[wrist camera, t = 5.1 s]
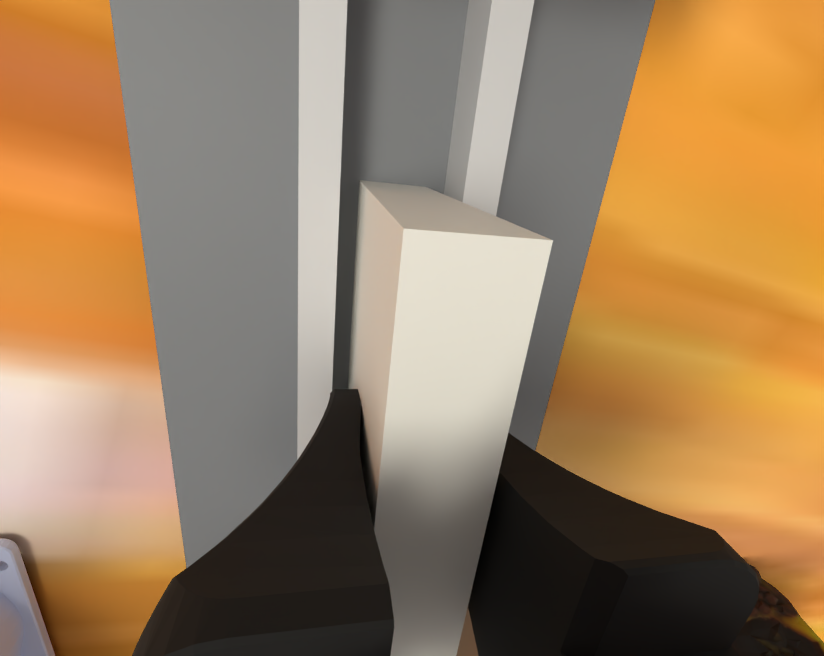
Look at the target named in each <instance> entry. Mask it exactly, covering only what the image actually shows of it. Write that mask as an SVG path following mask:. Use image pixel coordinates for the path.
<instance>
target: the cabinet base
mask: <svg viewBox="0 0 824 656" xmlns="http://www.w3.org/2000/svg"><path fill="white" fill-rule="evenodd" d="M654 3H655V0H110V7H111V15H112V22H113V30H114V37H115V44H116V52H117V59H118V66H119V74H120V81H121V88H122V96H123V103H124V110H125V118H126V125H127V133H128V140H129V147H130V155H131V162H132V169H133V177H134V184H135V191H136V199H137V206H138V213H139V221H140V228H141V236H142V243H143V250H144V258H145V265H146V272H147V280H148V287H149V294H150V302H151V309H152V317H153V324H154V331H155V339H156V346H157V353H158V361H159V368H160V375H161V383H162V390H163V397H164V405H165V412H166V420H167V427H168V434H169V442H170V449H171V456H172V464H173V471H174V478H175V486H176V493H177V500H178V508H179V515H180V523H181V530H182V537H183V545H184V552H185V559H186V567H187V568H188V567H189V566H190V565H192V564H193V563H194V562H195V561H197V560H198V559H199V558H201V557H202V556H203V555H204V554H206V553H207V552H208V551H210V550H211V549H212V548H213V547H215V546H216V545H217V544H218V543H220V542H221V541H222V540H223V539H224V538H225V537H226V536H228V535H229V534H230V533H231V532H232V531H233V530H234V529H235V528H236V527H237V526H238V525H239V524H241V523H242V522H243V521H244V520H245V519H246V518H247V517H248V516H249V515H250V514H251V513H252V512H253V511H254V510H255V509H256V508H257V507H258V506H259V505H260V504H261V503H262V502H263V501H264V500H265V499H266V498H267V497H268V496H269V494H270V493H271V492H272V491H273V490H274V489H275V488H276V487H277V485H278V484H279V483H280V482H281V481H282V480H283V478H284V477H285V476H286V474H287V473H288V472H289V471H290V469H291V468H292V467H293V465H294V464H295V463H296V461H297V460H298V458H299V457H300V455H301V454H302V452H303V451H304V449H305V448H306V446H307V444H308V443H309V441H310V440H311V438H312V436H313V435H314V433H315V431H316V429H317V427H318V425H319V423H320V421H321V419H322V417H323V415H324V413H325V410H326V408H327V405H328V402H329V398H330V393H331V392H332V391H333V390H334V389H348V377H349V360H350V342H351V324H352V306H353V289H354V271H355V253H356V236H357V218H358V200H359V183H360V180H363V181H373V182H383V183H393V184H403V185H412V186H422V187H427V188H430V189H432V190H435V191H437V192H439V193H442V194H444V195H446V196H449V197H451V198H454V199H456V200H458V201H461V202H463V203H465V204H468V205H470V206H473V207H475V208H477V209H480V210H482V211H485V212H487V213H489V214H492V215H494V216H496V217H499V218H501V219H504V220H506V221H508V222H511V223H513V224H515V225H518V226H520V227H523V228H525V229H527V230H530V231H532V232H534V233H537V234H539V235H542V236H544V237H546V238H549V239H551V240H553V243H552V247H551V251H550V256H549V260H548V264H547V269H546V273H545V277H544V281H543V286H542V290H541V294H540V299H539V303H538V307H537V311H536V316H535V320H534V324H533V329H532V333H531V337H530V342H529V346H528V350H527V354H526V359H525V363H524V367H523V372H522V376H521V380H520V384H519V389H518V393H517V397H516V402H515V406H514V410H513V415H512V419H511V423H510V427H509V433H510V434H511V435H513V436H514V437H515V438H517V439H518V440H520V441H521V442H523V443H524V444H525V445H527V446H528V447H530V448H531V449H533V450H534V451H535V449H536V446H537V442H538V438H539V434H540V431H541V427H542V423H543V419H544V416H545V412H546V408H547V404H548V401H549V397H550V393H551V389H552V386H553V382H554V378H555V374H556V371H557V367H558V363H559V359H560V356H561V352H562V348H563V344H564V341H565V337H566V333H567V330H568V326H569V322H570V318H571V315H572V311H573V307H574V303H575V300H576V296H577V292H578V288H579V285H580V281H581V277H582V273H583V270H584V266H585V262H586V258H587V255H588V251H589V247H590V243H591V240H592V236H593V232H594V228H595V225H596V221H597V217H598V213H599V210H600V206H601V202H602V198H603V195H604V191H605V187H606V183H607V180H608V176H609V172H610V168H611V165H612V161H613V157H614V153H615V150H616V146H617V142H618V138H619V135H620V131H621V127H622V123H623V120H624V116H625V112H626V108H627V105H628V101H629V97H630V93H631V90H632V86H633V82H634V78H635V75H636V71H637V67H638V63H639V60H640V56H641V52H642V48H643V45H644V41H645V37H646V33H647V30H648V26H649V22H650V18H651V15H652V11H653V7H654ZM456 656H478V651H477V646H476V642H475V637H474V632H473V628H472V623H471V619H470V614H469V609H468V608H467V612H466V616H465V621H464V625H463V629H462V633H461V638H460V642H459V646H458V651H457V655H456Z"/></svg>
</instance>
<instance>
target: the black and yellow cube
mask: <svg viewBox="0 0 824 656" xmlns="http://www.w3.org/2000/svg"><path fill="white" fill-rule="evenodd" d="M748 565H749V564H748ZM749 566H750V567H751V568H752V569H753V570H754V571H755V572H756V574H757V577H758V580H759V594H758V600H757V602H756V604H755V606H754V609H753V611H752V613H751V614H750V616H749V618H748V619H747V621H746V622H745V624H744V626H743V627H742V629H741V630H740V632H739V634H738V635H737V637H736V639H735V640H734V642H733V643H732V645H731V646H732V648H733V649H734V650H735V651H736V653H737V654H738V655H739V656H824V643H823V641H822V640H821V639H820V638H819V637H818V636H817V635H816V634H815V633H814V631H813V630H812V629H811V628H810V627H809V626H808V625H807V624H806V622H805V621H804V620H803V619H802V618H801V617H800V615H799V614H798V612H797V611H796V610H795V608H794V607H793V605H792V604H791V603H790V602H789V600H788V599H787V598H786V597H785V596H783V595H782V594H781V593H780V592H779V591H778V590H777V589H776V588H775V587H773V586H772V585H770V584H769V583H767V582H766V581H765V580H763V579H762V578H761V576H760V574H759V572H758V571H757V570H756V569H755V567H754V566H751V565H749Z"/></svg>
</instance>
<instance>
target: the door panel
mask: <svg viewBox="0 0 824 656" xmlns="http://www.w3.org/2000/svg"><path fill="white" fill-rule="evenodd" d="M552 243H553V240H551V239H549V238H546V237H544V236H542V235H539V234H537V233H534V232H532V231H530V230H527V229H525V228H523V227H520V226H518V225H515V224H513V223H511V222H508V221H506V220H504V219H501V218H499V217H496V216H494V215H492V214H489V213H487V212H485V211H482V210H480V209H477V208H475V207H473V206H470V205H468V204H465V203H463V202H461V201H458V200H456V199H454V198H451V197H449V196H446V195H444V194H442V193H439V192H437V191H435V190H432V189H430V188H427V187H422V186H412V185H403V184H393V183H383V182H373V181H363V180H360V183H359V200H358V218H357V236H356V253H355V271H354V289H353V306H352V324H351V342H350V360H349V377H348V389H358V392H359V395H360V399H361V417H360V459H361V465H362V471H363V478H364V483H365V489H366V494H367V499H368V505H369V509H370V514H371V518H372V523H373V527H374V532H375V536H376V540H377V543H378V547H379V551H380V554H381V558H382V562H383V566H384V569H385V572H386V575H387V578H388V582H389V586H390V594H391V601H392V608H393V616H394V633H393V640H392V648H391V655H390V656H456V655H457V651H458V646H459V642H460V638H461V633H462V629H463V625H464V621H465V616H466V612H467V608H468V603H469V599H470V595H471V591H472V586H473V582H474V578H475V573H476V569H477V565H478V560H479V556H480V552H481V548H482V543H483V539H484V535H485V530H486V526H487V522H488V518H489V513H490V509H491V505H492V500H493V496H494V492H495V488H496V483H497V479H498V475H499V470H500V466H501V462H502V457H503V453H504V449H505V445H506V440H507V436H508V432H509V427H510V423H511V419H512V415H513V410H514V406H515V402H516V397H517V393H518V389H519V384H520V380H521V376H522V372H523V367H524V363H525V359H526V354H527V350H528V346H529V342H530V337H531V333H532V329H533V324H534V320H535V316H536V311H537V307H538V303H539V299H540V294H541V290H542V286H543V281H544V277H545V273H546V269H547V264H548V260H549V256H550V251H551V247H552Z"/></svg>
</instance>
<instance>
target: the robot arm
mask: <svg viewBox="0 0 824 656" xmlns="http://www.w3.org/2000/svg"><path fill="white" fill-rule="evenodd" d="M360 417H361V399H360V395H359V392H358V389H334V390H333V391H332V392H331V393H330V398H329V402H328V405H327V408H326V410H325V413H324V415H323V417H322V419H321V421H320V423H319V425H318V427H317V429H316V431H315V433H314V435H313V436H312V438H311V440H310V441H309V443H308V444H307V446H306V448H305V449H304V451H303V452H302V454H301V455H300V457H299V458H298V460H297V461H296V463H295V464H294V465H293V467H292V468H291V469H290V471H289V472H288V473H287V474H286V476H285V477H284V478H283V480H282V481H281V482H280V483H279V484H278V485H277V487H276V488H275V489H274V490H273V491H272V492H271V493H270V494H269V496H268V497H267V498H266V499H265V500H264V501H263V502H262V503H261V504H260V505H259V506H258V507H257V508H256V509H255V510H254V511H253V512H252V513H251V514H250V515H249V516H248V517H247V518H246V519H245V520H244V521H243V522H242V523H241V524H239V525H238V526H237V527H236V528H235V529H234V530H233V531H232V532H231V533H230V534H229V535H228V536H226V537H225V538H224V539H223V540H222V541H221V542H220V543H218V544H217V545H216V546H215V547H213V548H212V549H211V550H210V551H208V552H207V553H206V554H204V555H203V556H202V557H201V558H199V559H198V560H197V561H195V562H194V563H193V564H192V565H190V566H189V567H188V568H186V569H185V570H184V571H182V572H181V573H180V574H178V575H177V576H175V577H174V578H173V579H172V581H171V582H170V584H169V585H168V587H167V589H166V590H165V592H164V594H163V596H162V597H161V599H160V601H159V602H158V604H157V606H156V608H155V610H154V611H153V613H152V615H151V617H150V619H149V621H148V623H147V625H146V627H145V629H144V631H143V633H142V635H141V637H140V639H139V641H138V643H137V645H136V647H135V650H134V652H133V655H132V656H390V655H391V648H392V640H393V633H394V616H393V608H392V601H391V594H390V586H389V582H388V578H387V575H386V572H385V569H384V566H383V562H382V558H381V554H380V551H379V547H378V543H377V540H376V536H375V532H374V527H373V523H372V518H371V514H370V509H369V505H368V499H367V494H366V489H365V483H364V478H363V471H362V465H361V459H360ZM758 594H759V580H758V577H757V574H756V572H755V571H754V570H753V569H752V568H751V567H750V566H749V565H748V564H747V562H746V561H745V560H744V559H743V558H742V557H741V556H740V555H739V554H738V553H737V552H736V551H735V550H734V549H733V548H732V547H731V546H730V545H729V544H728V543H727V542H726V541H725V540H724V539H723V538H722V537H721V536H720V535H719V534H718V533H717V532H716V531H714V530H712V529H709V528H706V527H703V526H700V525H697V524H694V523H691V522H688V521H685V520H682V519H679V518H676V517H673V516H670V515H667V514H664V513H661V512H658V511H656V510H653V509H651V508H648V507H646V506H643V505H641V504H638V503H636V502H633V501H631V500H628V499H626V498H623V497H621V496H619V495H617V494H614V493H612V492H610V491H608V490H605V489H603V488H601V487H599V486H597V485H595V484H593V483H591V482H589V481H587V480H585V479H583V478H581V477H579V476H577V475H575V474H573V473H571V472H570V471H568V470H566V469H564V468H562V467H561V466H559V465H557V464H556V463H554V462H552V461H551V460H549V459H547V458H545V457H544V456H542V455H541V454H539V453H537V452H536V451H534V450H533V449H531V448H530V447H528V446H527V445H525V444H524V443H523V442H521V441H520V440H518V439H517V438H515V437H514V436H513V435H511V434H510V433H509V432H508V436H507V440H506V445H505V449H504V453H503V457H502V462H501V466H500V470H499V475H498V479H497V483H496V488H495V492H494V496H493V500H492V505H491V509H490V513H489V518H488V522H487V526H486V530H485V535H484V539H483V543H482V548H481V552H480V556H479V560H478V565H477V569H476V573H475V578H474V582H473V586H472V591H471V595H470V599H469V603H468V609H469V614H470V619H471V623H472V628H473V632H474V637H475V642H476V646H477V651H478V656H739V655H738V654H737V653H736V651H735V650H734V649H733V648H732V646H731V645H732V643H733V642H734V640H735V639H736V637H737V635H738V634H739V632H740V630H741V629H742V627H743V626H744V624H745V622H746V621H747V619H748V618H749V616H750V614H751V613H752V611H753V609H754V606H755V604H756V602H757V600H758ZM0 656H55V653H54V650H53V647H52V644H51V642H50V639H49V636H48V633H47V630H46V627H45V624H44V621H43V618H42V615H41V612H40V609H39V606H38V603H37V600H36V597H35V595H34V592H33V589H32V586H31V583H30V580H29V577H28V574H27V571H26V568H25V565H24V562H23V559H22V556H21V553H20V550H19V548H18V546H17V544H16V543H15V542H13V541H12V540H9V539H3V538H0Z"/></svg>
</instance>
